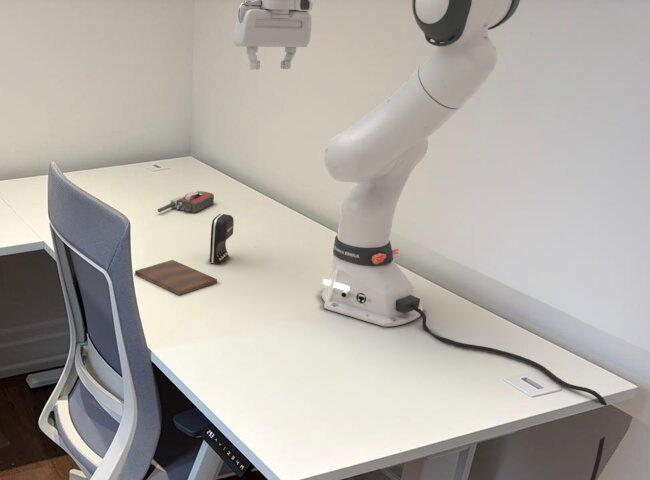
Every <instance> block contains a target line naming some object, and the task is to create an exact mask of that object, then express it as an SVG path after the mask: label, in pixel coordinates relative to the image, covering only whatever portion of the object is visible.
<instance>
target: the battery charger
mask: <svg viewBox="0 0 650 480" xmlns="http://www.w3.org/2000/svg"><path fill="white" fill-rule="evenodd" d="M234 221H235V220H234V217H233V216H232V214H231V215H230V214H225V213H218V214H217V215H216V216H215V217H214V218H213V219H212V221H211V226H210V227H211V228H210V229H211V230H210V245H209V246H210V247H209V263H211V264H216V265H217V264H219V265H220V264H223V263H224V262H226V260H227V259H228V258H229V257H230V255H229V253H228V250H227V244H226V243H227V240H228V239H229V238H230V237H232V236H233V235H234V226H235V225H234Z"/></svg>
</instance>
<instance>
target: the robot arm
mask: <svg viewBox="0 0 650 480" xmlns="http://www.w3.org/2000/svg"><path fill="white" fill-rule="evenodd" d="M520 2H521V0H412V1H411V3H412V13H413V17H414V21H415V23H416V24H417V26H418V28H419V30H420V31H422V32H423V34H424V38H425V40H426V42H427V43H429V44H430V45H431V46H435V49H434V51H433V52H432V53H431V54H430V55H429V56H428V57H427V58H426V59H425V60H424V62H422V63H421V64H420V66H418V68H417V69H416V70H415V71H414V72H413V73H412V74H411V75H410V76H409V77H408V78H407V79H405V82H403V84H401V85H400V86H399V87H398V89H397V90H395V91H394V92H393V93H392V94H391V95H390V96H389V97H387V98H386V99H384V101H382V102H381V103H379V104H377V106H375V107H373V109H371V110H370V111H368V112H367V113H366V114H365V115H364V116H362V117H361V118H360V119H358V120H357V121H356V122H355V123H353V124H352V125H351V126H349V127H348V128H346V129H345V130H343V131H341V132H340V133H337V134H336V135H335V136H333V137H332V138H331V139H330V140H329V141H328V142H327V143H326V146H325V148H324V149H325V150H324V164H325V169H326V171H327V173H328V174H329V176H331V178H333V180H335V181H338V182H341V183H355V185H354V186H353V188H352V189H351V191H350V192H349V193H348V194H347V195H346V196H345V198H344V199H343V201H342V204H341V207H340V214H339V222H338V227H337V228H338V229H337V235H336V236H335V237H334V242H333V248H332V254H333V258H332V263H331V268H330V272H329V275H328V278H327V279H325V278H323V281H322V284H324V285H325V286H324V289H323V290H322V293H321V299H322V300H323V302H324V305H323V308H324V309H325V310H328V311H332V312H334V313H339V314H341V315H345V316H348V317H351V318H354V319H358V320H361V321H364V322H367V323H371V324H374V325H378V326H380V327H387V328H389V327H398V326H401V325H405V324H409V323H410V322H413V321H415V320H417V319H419V317H421V318H422V319H421V325H422V328H423V330H424V331H425V332H426V333H428V334H429V335H430V336H432V337H433V338H435V340H438V341H441V342H444V343H447V344H450V345H454V346H457V347H460V348H467V349H473V350H479V351H486V352H490V353H493V354H498V355H502V356H505V357H509V358H512V359H516V360H519V361H521V362H524V363H526V364H529V365H530V366H533V367H535V368H537V369H539V370H540V371H542V372H543V373H545V375H547V376H548V377H549V378H551V379H552V380H553V381H554V382H556V383H557V384H559V385H561V386H563V387H565V388H568V389H571V390H575V391H580V392H583V393H587V394H590V395H592V396H593V397H595V399H597V400H598V401H599V403H600V404H601V405H603V406H608V404H607V401H606V399H605V398H604V397H603V396H602V395H601V394H600V393H598V392H597V391H595V390H594V389H591V388H587V387H584V386H580V385H575V384H571V383H569V382H566V381H564V380H563V379H561V378H559V377H558V376H556V375H555V374H554V373H553V372H551V371H550V370H549V369H547V368H546V367H545V366H543V365H542V364H540V363H538V362H536V361H534V360H531V359H530V358H527V357H525V356H521V355H518V354H516V353H512V352H509V351H505V350H502V349H501V350H500V349H497V348H494V347H489V346H488V347H487V346H483V345H477V344H471V343H464V342H459V341H456V340H454V339H450V338H447V337H443V336H440V335H437V334H435V333H433V332H432V331H431V330H430V329H429V327H428V326H427V315H426V314H425V313H424V311H423V306H422V305H420V303H421V298H419V297H416V296H415V289H414V284H413V283H412V281H410V279H409V278H408V276H406V274H405V273H404V272H403V271H402V269H401V268H400V267H399V266H398V264H397V263H396V262H395V261H394V256H395V255H397V254H399V250H400V248H395V249H393V248H392V243H391V241H390V237H391V232H392V227H393V222H394V218H395V217H394V216H395V212H396V208H397V205H398V202H399V200H400V197H401V195H402V192H403V191H404V188H405V187H406V184H407V182H408V180H409V178H410V176H411V174H412V173H413V171H414V169H415V168H416V167H417V166H418V165H419V163H420V162H421V161H422V160H423V159H424V157H425V156H426V154H427V151H428V147H429V137H431V136H432V135H433V134H434V133H436V132H437V131H438V130H439V129H440V128H441V127H442V126H443V125H444V124H445V123H446V122H448V121H449V119H450V118H452V117H453V115H455V114H456V113H457V112H458V111H459V110H460V109H462V107H464V106H465V104H466V103H468V102H469V100H470V99H472V98H473V96H474V95H475V94H476V93H477V92H478V90H479V89H480V88H481V87H482V86H483V84H485V82H486V81H487V80H488V78H489V77H490V75H491V74H492V72H494V70H495V68H496V65H497V61H498V52H497V49H496V46H495V45H494V43H493V41H492V40H491V39H490V38H489V34H488V33H489V32H488V31H490V30H493V29H495V28H497V27H499V26H501V25H503V24H505V23H506V22H508V21H509V20H510V19H511V18H512V16H513V15H514V14H515V12H516V11H517V9H518V7H519V5H520ZM313 4H314V3H313V1H312V0H244V1H243V2H241V3H240V5H239V6H238V8H237V9H238V10H237V17H236V19H235V20H236V22H235V26H234V31H233V33H234V34H233V43H234V45H235V46H236V47H237V48H238V47H239V48H240V47H242V48H246V55H247V57H248V60H249V70H260V68H261V60H258V57H257V53H258V51H259V48H261V47H262V48H284V53H286V54H285V55H284V58H283V60H280V69H281V70H290V69H291V66H292V60H293V58H294V57H295V55H296V52H297V48H307V46H308V45H309V44H310V41H311V33H312V15H311V13H310V12H311V11H312V9H313ZM605 439H606V436H603V437H601V438H600V439H599V440H598V441H599V442H598V446H597V451H596V452H597V453H596V457H595V461H594V465H593V469H592V472H591V476H590V480H596V479H597V474H598V471H599V468H600V463H601V459H602V455H603V450H604V445H605Z"/></svg>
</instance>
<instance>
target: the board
mask: <svg viewBox="0 0 650 480" xmlns="http://www.w3.org/2000/svg"><path fill="white" fill-rule="evenodd" d="M134 275H135V276H137V277H139V278H142V279H143V280H145V281H147V282H150V283H152V284H154V285H156V286H158V287H160V288H162V289H164V290H167V291H169V292H171V293H172V294H175V295H177V296H182V295H185V294H187V293H191V292H194V291H197V290H199V289H203V288H206V287H209V286H211V285H215V284H217V283H218V278H215V277H213V276H211V275H209V274H206V273H205V272H202V271H199V270H197V269H196V268H192V267H190V266H188V265H185V264H183V263H181V262H178V261H176V260H174V259H170V260H167V261H164V262H160V263H157V264H153V265H150V266H146V267H144V268H140V269H138V270H135V271H134Z"/></svg>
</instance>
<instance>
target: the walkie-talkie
mask: <svg viewBox="0 0 650 480" xmlns="http://www.w3.org/2000/svg"><path fill="white" fill-rule="evenodd" d="M214 200H215V194H214V193H212V192H209V191H204V190H197V191H191V192H189V193H187V194H185V195H184V196H178V197H176V198H174V199H171V200H170V203H169V204H166V205H164V206H162V207H160V208H158V209H157V212H158V213H161V212H165V211H167V210H168V209H171V208H175V209H176V210H178V211H182V212H186V213H191V214H195V213H197V212H199V211H202V210H204V209H205V208H208V207H211V206H212V205H214V204H215V203H214V202H215V201H214Z"/></svg>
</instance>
